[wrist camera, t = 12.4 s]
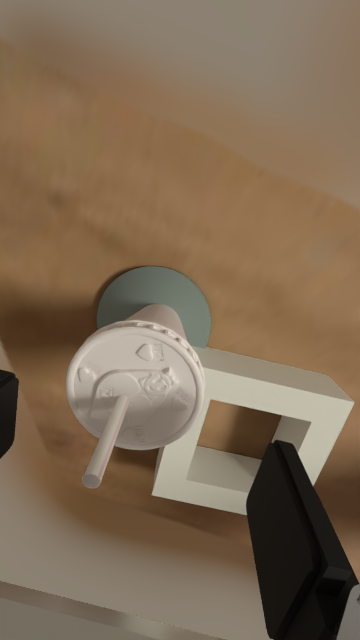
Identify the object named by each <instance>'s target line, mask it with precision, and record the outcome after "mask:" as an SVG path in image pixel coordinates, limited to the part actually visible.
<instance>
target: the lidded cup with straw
mask: <svg viewBox="0 0 360 640" xmlns="http://www.w3.org/2000/svg"><path fill="white" fill-rule="evenodd" d="M204 390H205V378H204V369H203V367H202V364H201V362H200V360H199V357H198V355H197V353H196V352H195V351H194V349H193V348H192V347H191V346H190V344H189V343H188V342H187V339H186V336H185V333H184V330H183V327H182V324H181V321H180V318H179V316H178V314H177V313H176V312H175V311H174V310H173V309H172V308H170V307H168V306H166V305H163V304H152V305H148V306H146V307H144V308H143V309H141V310H140V311H138V312H137V313H135V314H134V315H132V316H131V317H129V318H128V319H126V320H125V321H118V322H115V323H112V324H110V325H107V326H105V327H102V328H100V329H99V330H98V331H96V332H95V333H94V334H92V335H91V336H90V337H88V338H87V339H86V341H85V342H84V343H83V345H82V346H81V347H80V349H79V350H78V351H77V352H76V354H75V355H74V357H73V358H72V360H71V362H70V365H69V368H68V371H67V375H66V394H67V398H68V402H69V405H70V407H71V409H72V411H73V413H74V415H75V416H76V418H77V419H78V421H79V422H80V423H81V424H82V425H83V426H84V427H85V428H86V429H87V430H88V431H89V432H90V433H91V434H93V435H94V436H95V437H97V438H99V439H100V440H99V442H98V444H97V446H96V449H95V451H94V453H93V455H92V458H91V460H90V462H89V464H88V467H87V469H86V471H85V473H84V476H83V478H82V482H83V484H84V485H85V486H86V487H88V488H97V487H98V486H99V485H100V483H101V480H102V477H103V474H104V472H105V469H106V466H107V463H108V460H109V458H110V455H111V452H112V449H113V447H114V446H116V447H120V448H124V449H131V450H149V449H155V448H159V447H163V446H166V445H168V444H170V443H172V442H174V441H176V440H178V439H179V438H181V437H182V436H183V435H185V434H186V433H187V432H188V431H189V430H190V429H191V428H192V426H193V425H194V424H195V422H196V421H197V419H198V417H199V415H200V413H201V410H202V407H203V403H204V394H205V392H204Z"/></svg>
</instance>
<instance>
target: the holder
mask: <svg viewBox="0 0 360 640" xmlns="http://www.w3.org/2000/svg"><path fill="white" fill-rule="evenodd" d="M191 347H192V348H193V349H194V351H195V352H196V353H197V355H198V357H199V360H200V362H201V364H202V367H203V369H204V378H205V390H204V392H205V394H204V403H203V407H202V410H201V413H200V415H199V417H198V419H197V421H196V422H195V424H194V425H193V426H192V428H191V429H190V430H189V431H188V432H187V433H186V434H185V435H183V436H182V437H181V438H179V439H178V440H176V441H174V442H172V443H170V444H168V445H166V446H163V447H160V449H159V452H158V456H157V462H156V469H155V476H154V483H153V490H152V495H153V496H158V497H163V498H168V499H172V500H177V501H182V502H186V503H191V504H196V505H201V506H205V507H210V508H215V509H220V510H224V511H229V512H234V513H238V514H243V515H247V512H246V500H247V496H248V494H249V491H250V489H251V486H252V484H253V481H254V479H255V476H256V474H257V471H258V469H259V466H260V464H261V461H262V460H260V459H256V458H251V457H247V456H242V455H238V454H233V453H229V452H224V451H220V450H215V449H210V448H206V447H201V446H197V445H196V444H197V441H198V438H199V435H200V432H201V428H202V425H203V422H204V419H205V416H206V412H207V409H208V406H209V403H210V399H213V400H218V401H222V402H226V403H231V404H235V405H240V406H244V407H248V408H253V409H257V410H262V411H266V412H270V413H275V414H279V415H282V417H281V419H280V422H279V424H278V427H277V429H276V432H275V434H274V437H273V439H272V441H271V442H272V443H273V442H274V441H275V440H281V441H285V442H289V443H292V444H293V445H294V446H295V448H296V451H297V453H298V455H299V457H300V459H301V461H302V463H303V466H304V468H305V470H306V472H307V474H308V476H309V479H310V481H311V483H312V485H313V486H314V484H315V482H316V480H317V478H318V476H319V474H320V472H321V470H322V468H323V466H324V464H325V462H326V460H327V458H328V455H329V453H330V451H331V449H332V447H333V445H334V443H335V441H336V439H337V437H338V435H339V433H340V431H341V429H342V427H343V425H344V423H345V421H346V419H347V417H348V415H349V413H350V411H351V409H352V407H353V405H354V403H355V402H354V401H353V400H352V399H351V398H350V397H349V396H348V395H347V394H346V393H345V392H344V391H343V390H342V389H341V388H340V387H339V386H338V385H337V384H336V383H335V382H334V381H333V380H332V379H331V378H330V377H329V376H328V375H326V374H321V373H317V372H313V371H309V370H304V369H300V368H296V367H292V366H287V365H283V364H279V363H274V362H270V361H266V360H262V359H257V358H253V357H249V356H245V355H240V354H236V353H232V352H228V351H223V350H219V349H215V348H210V347H205V348H204V349H203V348H199V347H194V346H191Z"/></svg>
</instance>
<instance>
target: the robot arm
mask: <svg viewBox="0 0 360 640" xmlns="http://www.w3.org/2000/svg"><path fill="white" fill-rule="evenodd" d="M18 385H19V380H18V379H17V378H15V374H14V373H12V372H8V371H3V370H0V458H1V457H2V456H3V455H4V454H5V453H6V452H7V451H8V450H9V449H10V447H11V446H12V444H13V441H14V436H15V422H16V410H17V398H18ZM246 512H247V518H248V523H249V529H250V535H251V541H252V547H253V553H254V559H255V564H256V570H257V576H258V582H259V588H260V594H261V599H262V605H263V611H264V617H265V623H266V629H267V633H268V635H269V637H270V639H274V640H360V584H359V582H358V580H357V578H356V576H355V573H354V571H353V569H352V567H351V565H350V563H349V561H348V558H347V556H346V554H345V552H344V550H343V548H342V546H341V543H340V541H339V539H338V537H337V535H336V533H335V531H334V528H333V526H332V524H331V522H330V520H329V518H328V516H327V513H326V511H325V509H324V507H323V505H322V503H321V501H320V498H319V496H318V495H317V493H316V492H315V489H314V487H313V485H312V483H311V481H310V479H309V476H308V474H307V472H306V470H305V468H304V466H303V463H302V461H301V459H300V457H299V455H298V453H297V451H296V448H295V446H294V445H293V444H292V443H289V442H285V441H281V440H275V441H274V442H273V443H272V442H270V443H269V444H268V446H267V449H266V451H265V454H264V456H263V459H262V461H261V464H260V466H259V469H258V471H257V474H256V476H255V479H254V481H253V484H252V486H251V489H250V491H249V494H248V496H247V500H246ZM0 640H225V639H221V638H218V637H214V636H210V635H206V634H202V633H199V632H195V631H191V630H187V629H183V628H180V627H176V626H172V625H168V624H164V623H161V622H157V621H153V620H149V619H146V618H142V617H138V616H134V615H131V614H127V613H123V612H118V611H115V610H111V609H107V608H103V607H99V606H95V605H92V604H88V603H84V602H80V601H76V600H72V599H68V598H65V597H60V596H57V595H53V594H48V593H45V592H41V591H37V590H33V589H29V588H25V587H21V586H17V585H14V584H9V583H6V582H2V581H0Z"/></svg>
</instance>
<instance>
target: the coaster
mask: <svg viewBox="0 0 360 640" xmlns="http://www.w3.org/2000/svg"><path fill="white" fill-rule="evenodd" d="M152 304H163V305H166V306H168V307H170V308H172V309H173V310H174V311H175V312H176V313H177V314H178V316H179V318H180V321H181V324H182V327H183V330H184V333H185V336H186V339H187V342H188V343H189V344H190V346H194V347H199V348H203V349H204V348H205V347H206V345H207V342H208V339H209V336H210V331H211V316H210V311H209V307H208V304H207V301H206V299H205V297H204V295H203V293H202V292H201V291H200V289H199V288H198V287H197V285H196V284H195V283H194V282H193V281H192V280H190V279H189V278H188V277H186V276H185V275H183V274H182V273H180V272H178V271H176V270H173V269H170V268H167V267H161V266H143V267H139V268H135V269H133V270H130V271H128V272H126V273H124V274H122V275H121V276H119V277H118V278H117V279H115V280H114V281H113V282H112V283H111V284H110V285H109V286H108V288H107V289H106V290H105V292H104V294H103V295H102V297H101V300H100V302H99V305H98V310H97V318H96V319H97V329H98V330H99V329H100V328H102V327H105V326H107V325H110V324H112V323H115V322H118V321H125V320H126V319H128V318H129V317H131V316H132V315H134V314H135V313H137V312H138V311H140V310H141V309H143V308H144V307H146V306H148V305H152Z"/></svg>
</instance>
